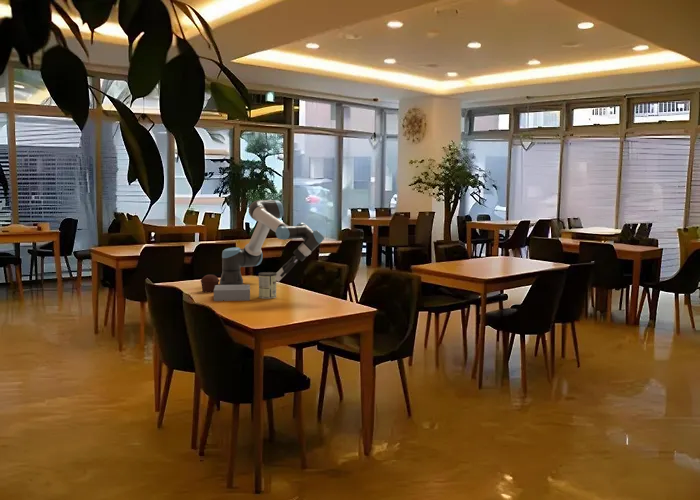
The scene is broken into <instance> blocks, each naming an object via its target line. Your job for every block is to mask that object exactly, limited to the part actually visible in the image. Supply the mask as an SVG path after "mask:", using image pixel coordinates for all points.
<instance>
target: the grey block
mask: <svg viewBox="0 0 700 500" xmlns="http://www.w3.org/2000/svg"><path fill="white" fill-rule="evenodd" d="M223 300H224V301H223ZM229 301H230V302H232V301H235V302H236V301H241V302H242V301H244V302H245V301H251V284H240V285H221V284H218V285H215V288H214V292H213V302H229Z"/></svg>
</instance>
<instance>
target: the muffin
mask: <svg viewBox="0 0 700 500" xmlns="http://www.w3.org/2000/svg"><path fill="white" fill-rule="evenodd" d="M200 284H201V289H202V293H214V288H215V285H219V284H220V278H219V277H218V276H216V275H215V274H206V275H204V276H203V277H202V278H201V280H200Z"/></svg>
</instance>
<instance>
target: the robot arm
mask: <svg viewBox="0 0 700 500" xmlns="http://www.w3.org/2000/svg"><path fill="white" fill-rule="evenodd" d="M248 215H249V216H250V217H251V219H253V220H254V221H255V222H257V223H256V226H255V228H254V230H253V233H252V235H251V238H250V239H249V242H248V243H247V244H245V246H244V247H243V248H242V249H241V248H240V247H238V246H237V247H228V248H225V249H224V250H222V253H221V260H222V261H221V264H222V265H221V267H222V270H221V271H222V273H221V276H220V278H219V285H244V279H243V276H242V273H241V268H249V267H257V266H259V265H261V264H262V261H263V255H264V254H263V251H262V246H263V245H264V243H265V240H266V239H267V236H268V234H269V232H270V230H271V231H273V232H274V233H275V236H276V238H277V239H278V240H282V241H283V240H297V239H299V240H303V242H301V244H300V245H298V247H297V248H296V249H295V250H294V251H293V252H292V253H293V254H294V255H293V256H291V258H290V259H289V260H288V261H287V262H286V263H284V264H283V265H282V267H280V268H279V270H278V271H277V272H275V273H276V278H275V279H276V282H278V283H279V282H280V281H281V280H282V279H283V278H284V277H285V276H286V275H287V274H289V272H290V271H291V270H292V269H293V268H294V266H296V264H298V263H299V261H301V262H303V261H304V260H305V259H306V258H307V257H308V256H309V255H311V254H312V252H313V251H314V250H316V248H317V247H319V245H320V244H321V243H322V242H323V241H324V240H325V237H324V235H323V234H322V233H321V231H319V230H318V229H314V230H313V229H312V228H311V227H310V226H309V225H307V224H306V223H305V222H299V223H298V224H296V225H288V224H286V223H285V222H283V221H281V220H280V219H282V218H283V217H284V206H283V203H282V202H281V201H280V200H278V199H262V200H261V199H257V200H254V201H253V202H252V203H251V204H250V205H249V208H248Z"/></svg>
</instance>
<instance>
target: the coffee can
mask: <svg viewBox="0 0 700 500" xmlns="http://www.w3.org/2000/svg"><path fill="white" fill-rule="evenodd" d="M276 273H277V272H274V271H267V272H266V271H263V272H258V298H259V299H267V300H268V299H275V298H277V280H276V279H275V278H276Z"/></svg>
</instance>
